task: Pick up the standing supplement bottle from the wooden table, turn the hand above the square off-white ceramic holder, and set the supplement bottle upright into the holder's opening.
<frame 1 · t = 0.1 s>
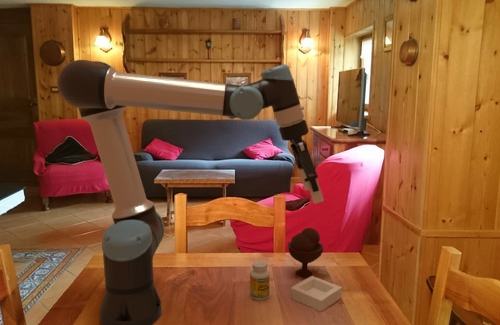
hand: (313, 195, 116), 28 cm above the table, tool tilted 20°, fingers open, 13 cm apart
holder: (316, 297, 115), on the table
supplement bottle: (259, 296, 116), on the table
ice cream bowl: (304, 274, 129), on the table
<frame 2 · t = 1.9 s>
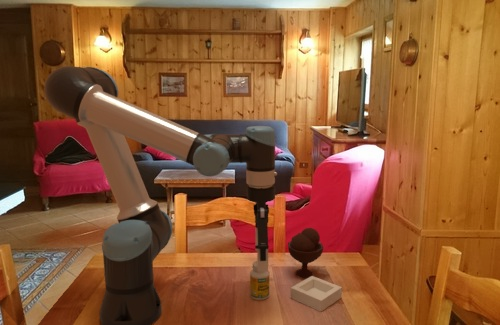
hand: (261, 260, 114), 11 cm above the table, tool pointing down, fingers open, 13 cm apart
nothing on the table moved.
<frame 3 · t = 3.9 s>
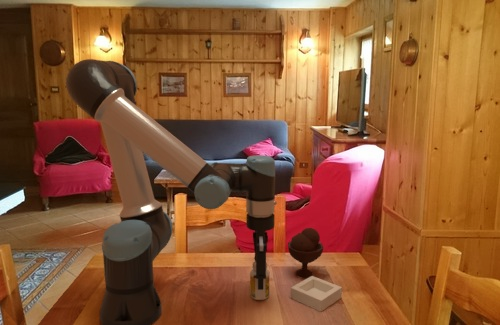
hand: (259, 293, 116), 1 cm above the table, tool pointing down, fingers closed on supplement bottle, 5 cm apart
supplement bottle: (259, 296, 116), on the table, touching gripper
everything else where it was.
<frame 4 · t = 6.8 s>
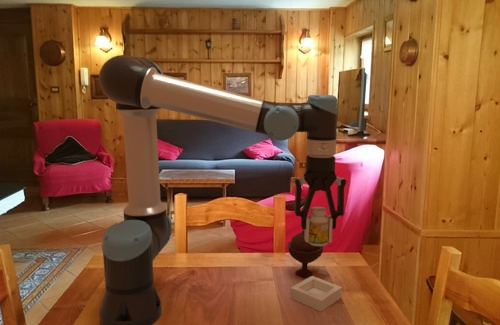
hand: (317, 240, 112), 17 cm above the table, tool pointing down, fingers closed on supplement bottle, 5 cm apart
supplement bottle: (317, 243, 112), point 16 cm above the table, touching gripper
everything else where it was.
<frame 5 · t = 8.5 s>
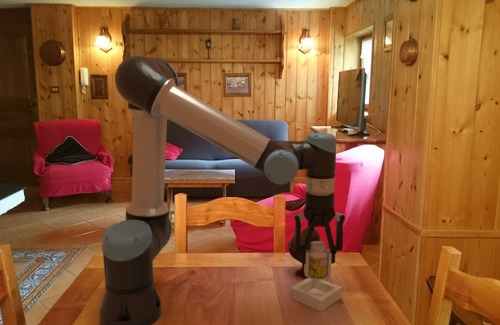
hand: (317, 274, 114), 7 cm above the table, tool pointing down, fingers closed on supplement bottle, 5 cm apart
supplement bottle: (317, 277, 114), point 6 cm above the table, touching gripper
everything else where it was.
when the fingers open (4 cm above the table, at t = 9.8 s): supplement bottle drops 3 cm, resting on holder.
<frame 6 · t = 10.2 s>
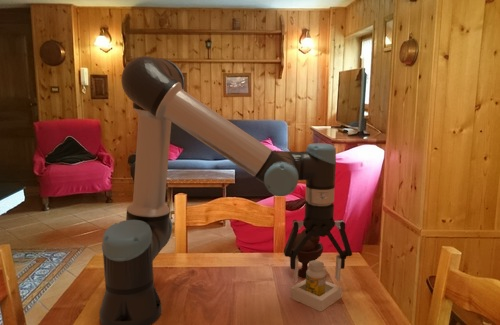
hand: (316, 279, 114), 5 cm above the table, tool pointing down, fingers open, 11 cm apart
supplement bottle: (314, 296, 115), resting on holder
everything else where it was.
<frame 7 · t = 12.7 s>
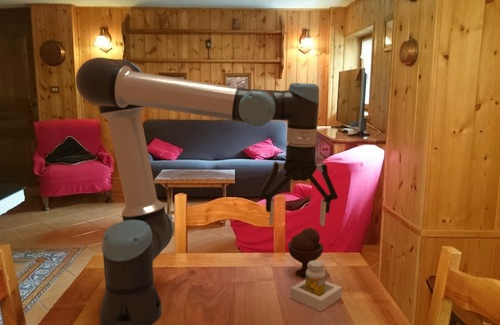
hand: (296, 223, 110), 22 cm above the table, tool pointing down, fingers open, 13 cm apart
nothing on the table moved.
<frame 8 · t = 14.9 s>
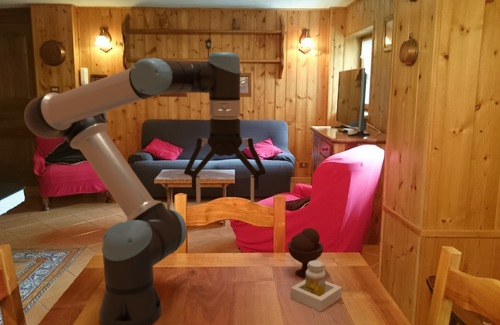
hand: (225, 201, 106), 29 cm above the table, tool pointing down, fingers open, 13 cm apart
nothing on the table moved.
at the end: supplement bottle 0.3 cm off-centre on the holder, point 0.4 cm above the holder's base; supplement bottle tilted 0°; the gripper is holding nothing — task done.
